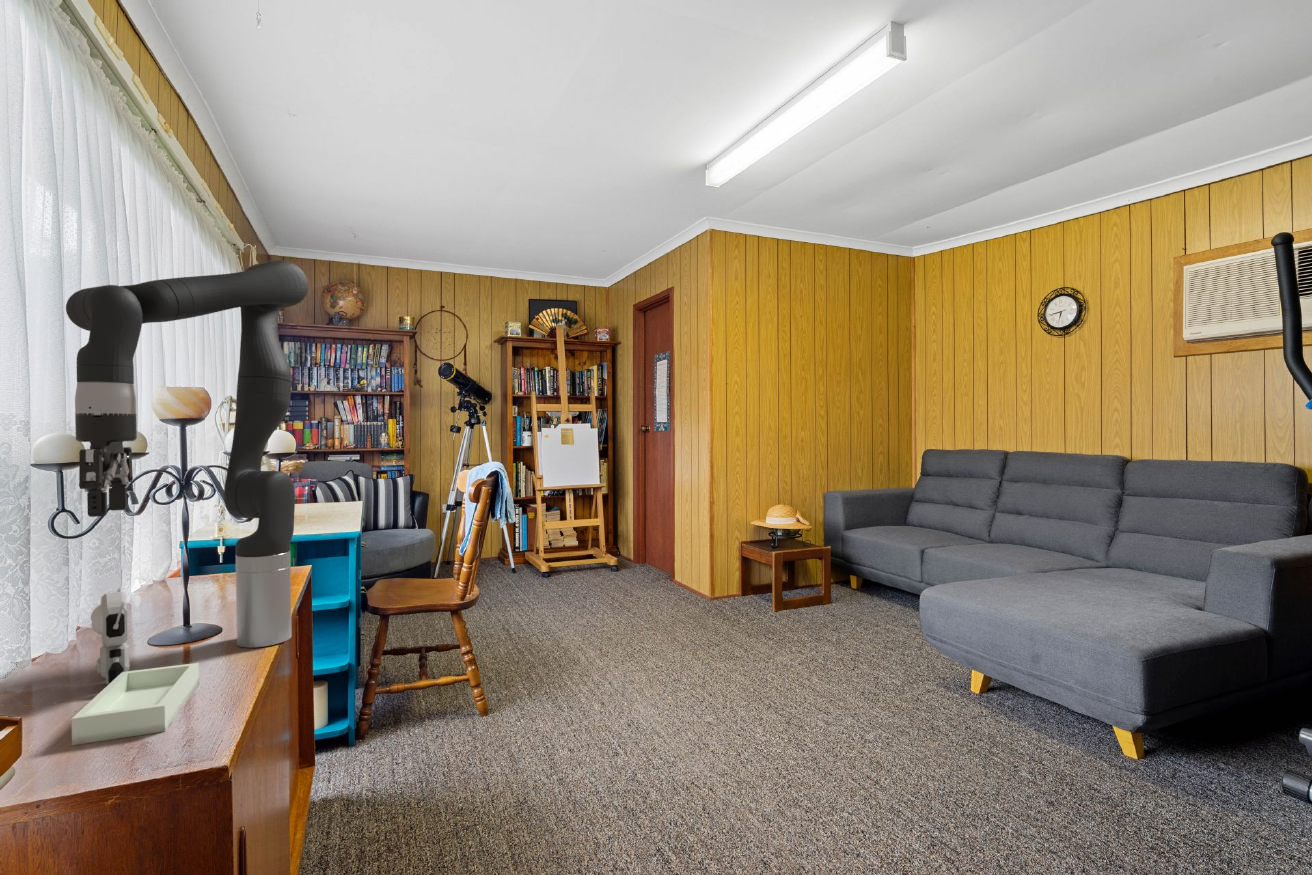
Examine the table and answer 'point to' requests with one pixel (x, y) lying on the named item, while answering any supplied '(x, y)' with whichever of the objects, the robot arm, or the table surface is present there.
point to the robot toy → (112, 635)
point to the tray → (136, 704)
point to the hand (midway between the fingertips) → (108, 513)
